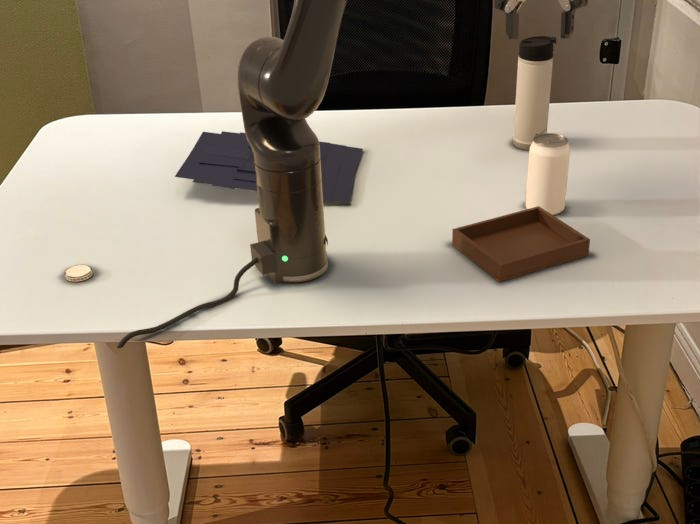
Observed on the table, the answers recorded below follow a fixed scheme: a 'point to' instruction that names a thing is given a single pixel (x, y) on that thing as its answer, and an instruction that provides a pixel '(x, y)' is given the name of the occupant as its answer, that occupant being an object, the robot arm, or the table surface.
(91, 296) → the table surface
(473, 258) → the tray
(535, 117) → the travel mug
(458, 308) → the table surface
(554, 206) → the can
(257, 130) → the robot arm
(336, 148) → the papers
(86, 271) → the cream ridged disc
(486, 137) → the table surface
